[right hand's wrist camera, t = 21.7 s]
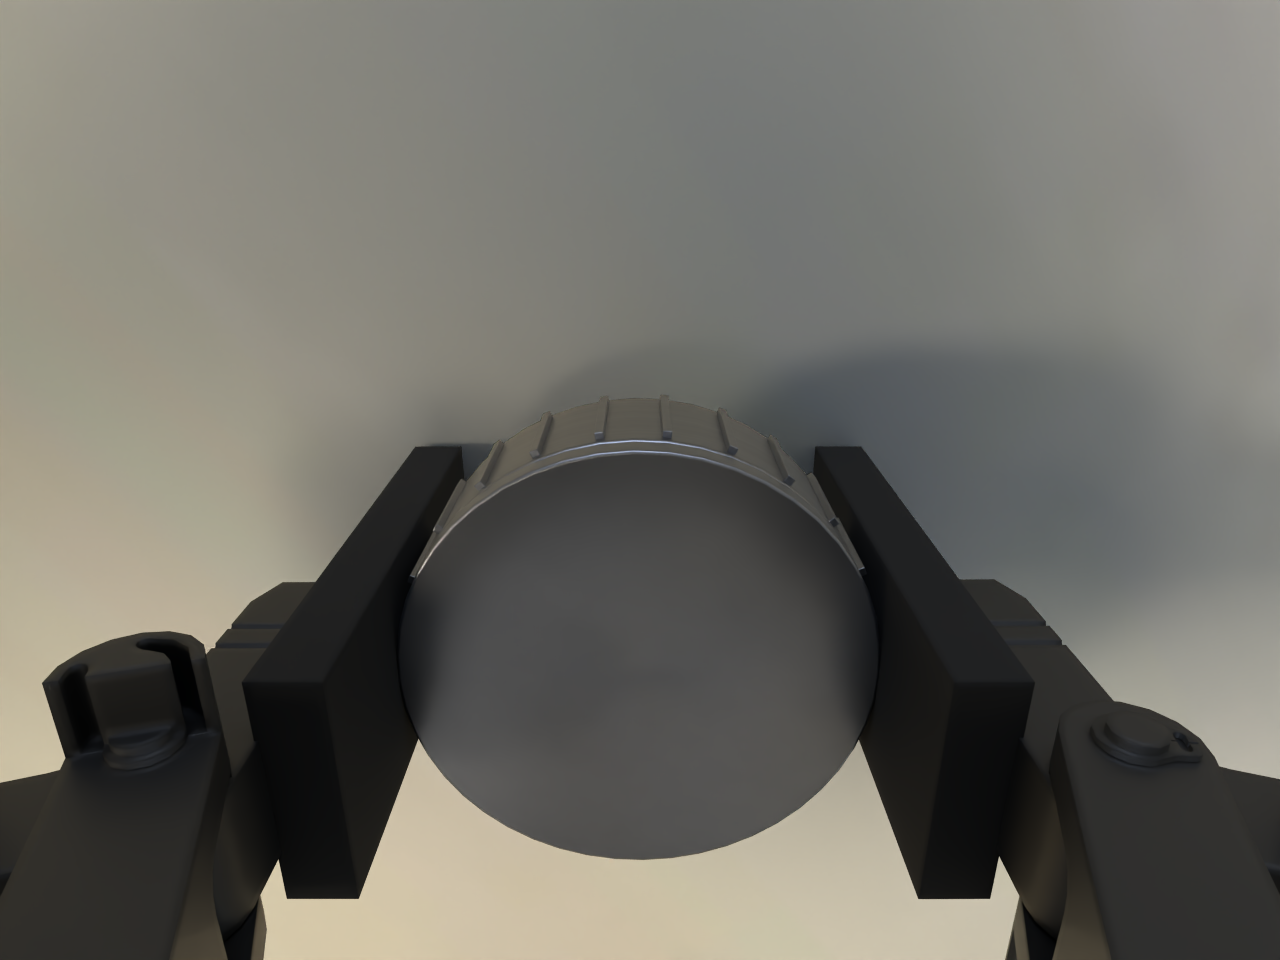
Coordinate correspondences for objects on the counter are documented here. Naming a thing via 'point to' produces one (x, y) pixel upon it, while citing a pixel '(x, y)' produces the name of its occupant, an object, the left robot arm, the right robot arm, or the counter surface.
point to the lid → (638, 633)
